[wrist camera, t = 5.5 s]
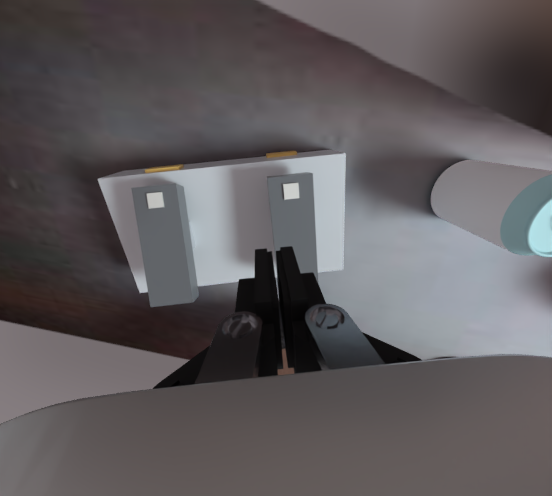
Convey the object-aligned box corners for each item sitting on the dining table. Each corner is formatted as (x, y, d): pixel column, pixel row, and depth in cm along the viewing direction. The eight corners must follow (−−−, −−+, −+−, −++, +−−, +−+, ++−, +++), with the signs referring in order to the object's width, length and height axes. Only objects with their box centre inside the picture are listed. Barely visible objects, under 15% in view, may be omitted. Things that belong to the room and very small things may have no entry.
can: (448, 150, 29) (566, 163, 18) (498, 170, 30) (637, 193, 19) (416, 209, 31) (501, 252, 20) (463, 225, 33) (567, 273, 22)
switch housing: (331, 146, 28) (350, 150, 22) (331, 250, 33) (347, 275, 27) (122, 167, 27) (87, 177, 21) (156, 269, 32) (134, 300, 27)
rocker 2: (308, 171, 22) (313, 173, 20) (314, 277, 25) (318, 287, 23) (266, 176, 22) (267, 178, 20) (277, 281, 25) (279, 292, 23)
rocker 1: (183, 186, 23) (175, 182, 21) (199, 295, 24) (192, 302, 22) (143, 190, 23) (130, 187, 21) (160, 300, 24) (149, 307, 22)
